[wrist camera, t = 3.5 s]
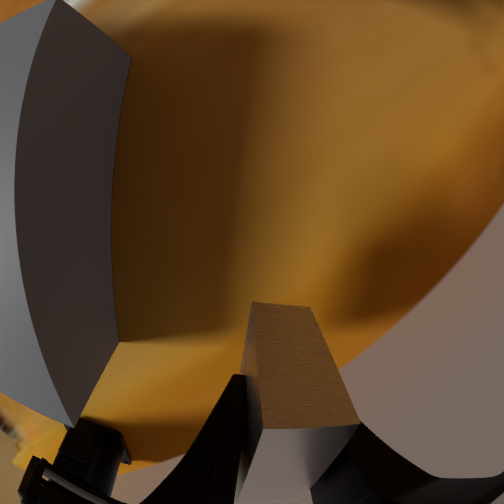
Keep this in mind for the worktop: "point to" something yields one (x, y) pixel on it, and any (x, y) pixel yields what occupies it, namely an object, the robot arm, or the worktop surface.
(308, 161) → the worktop surface
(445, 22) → the worktop surface
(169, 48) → the worktop surface
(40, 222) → the coin box
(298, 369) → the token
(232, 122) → the worktop surface
